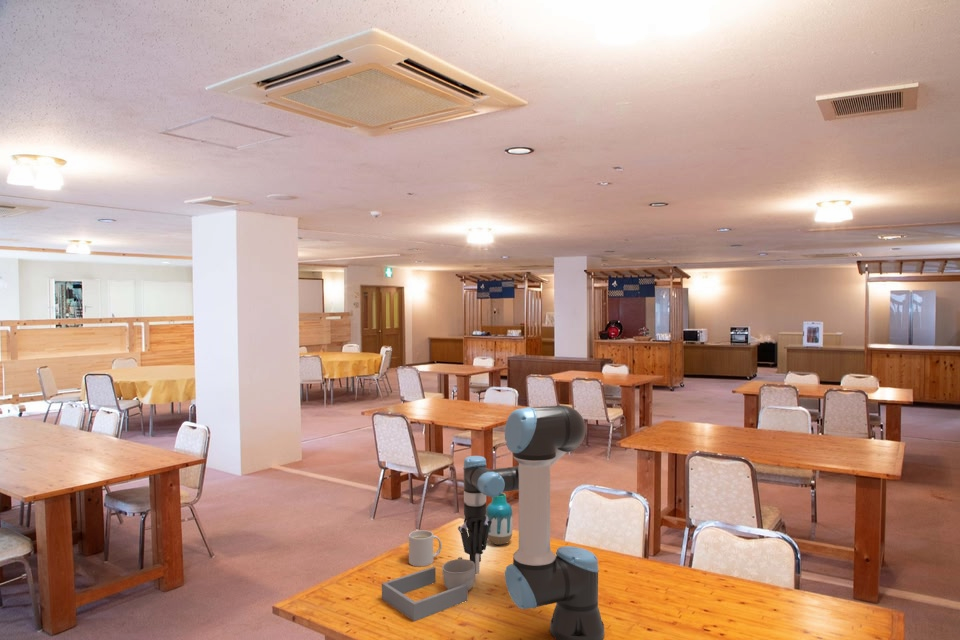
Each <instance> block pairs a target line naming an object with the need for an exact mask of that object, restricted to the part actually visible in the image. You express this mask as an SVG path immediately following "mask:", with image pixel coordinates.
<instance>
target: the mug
mask: <svg viewBox="0 0 960 640" xmlns="http://www.w3.org/2000/svg"><path fill="white" fill-rule="evenodd" d="M434 539H436V540H437V541H438V544H439V546H438V549H437V550H436V551H435V552H434ZM442 544H443V543H442V541H441V539H440V538H439V536H437V535H434V533H433V532H432V531H430V530H426V529H423V530H421V529H419V530H413V531H411V532H410V533H408V563H409V565H411V566H414V567H426V566H430V565H432V564H433V563H434V558H435V557H437V556H439V555H440V553H441V550H442V547H443V545H442Z"/></svg>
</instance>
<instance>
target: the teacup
mask: <svg viewBox="0 0 960 640" xmlns="http://www.w3.org/2000/svg"><path fill="white" fill-rule="evenodd" d="M441 569H442V579H443V584H444V587H445V588H446V589H447V590H450V589H452V588H455V587H458V586H461V585H464V584H466V585H467V592H468V591H470V590H471V588H472V587H473V586H474V585H475V582H476V574H475V563H474V562H473V561H471V560H470V559H465V558H463V557H460V556H459V557H457V559H451V560H448V561H447V562H445V563H443V564H442V566H441Z"/></svg>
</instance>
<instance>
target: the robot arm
mask: <svg viewBox="0 0 960 640" xmlns="http://www.w3.org/2000/svg"><path fill="white" fill-rule="evenodd" d="M506 419H507V421H506V423H505V427H504V440H505V442H506V443H505V444H506V448H507V449H508V450H509V452H511V453H513V455H512V457H513V458H514V459H515V461H517V463H518V464H517V465H516V466H510V467H500V468H494V469H492V468H491V469H490V468H488V467H487V459H486V458H485V457H484V456H481V455H471V456H470V455H469V456H467V457H465V458H464V460H463V468H462V470H463V515H464V520H463V524H462V525H461V526H457V530H458V532H459V533H460V537H461V541H462V545H463V546H462V547H463V552H464V553H465V554H466V555H469V560H471V561H473V562H474V563H475V575H479V574H480V563H481V561H482V554H484V551H486V548H487V545H488V533H489V528H490V525H491V523H492V521H490V520H488V519H486V509H487V497H489V498H492V497H497V496H499V495H500V494H501V493H506V492H508V493H509V492H515V491H518V549H517V550H516V551H515V552H514V553H513V555H512V558H513V560H512V561H513V562H512V563H510V564H508V565H507V566H506V567H505V571H504V579H505V580H504V581H505V585H506V589H507V592H508V594H509V596H510V599H511V600H512V602H513V603H514V605H515V606H516V607H518V608H519V609H521V610H527V609H536V608H540V607H544V606H547V605H553V604H556V605H555V606H554V610H553V613H552V616H551V620H550V624H549V625H550V626H549V627H550V628H549V630H550V634H551V636H552V637H553V638H554V639H555V640H603V639H604V638H605V624H604V621H603V620H602V616H601V612H600V609H599V608H600V607H599V572H600V570H599V562H598V557H597V556H596V555H595V553H593V552H592V551H590V550H588V549H585V548H582V547H580V546H579V547H578V546H573V545H571V546H570V545H569V546H567V545H565V546H560V547H558V548H557V549H556V551H555V552H553V551H552V550H551V468H552V466H553V465H554V464H556V463H557V461H559V460H560V459H561V458H562V457H563V456H564V455H565V454H566V453H571V452H573V451H575V450H576V449H577V448H578V447H579V446H580V445H581V444H582V443H583V441H584V439H585V437H586V434H587V433H586V432H587V428H586V427H587V426H586V422H585V420H584V419H585V418H584V417H583V416H582V415H581V413H580V412H579V411H578V410H576V409H574V408H573V407H571V406H568V405H562V404H558V405H549V406H548V405H546V406H545V405H544V406H527V407H524V408H523V407H521V408H517V409H515V410H512V411H511V413H510V415H508V418H506Z"/></svg>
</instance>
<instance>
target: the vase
mask: <svg viewBox="0 0 960 640" xmlns="http://www.w3.org/2000/svg"><path fill="white" fill-rule="evenodd" d="M485 516H486V519H488V520H490V521H492V523H491V525H490V528H489V533H488V539H487V541H489V542H490V543H492V544H493V545H505V544H507V543H509V542H510V541H511V539H512V537H513V527H514V526H513V524H514V523H513V522H514V515H513V508H512V506H511V505H510V503H508V502H507V494H506V493H505V492H502V493H501V494H500V495H499V496H497V497H491V502H490V503H488V505H486V515H485Z"/></svg>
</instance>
